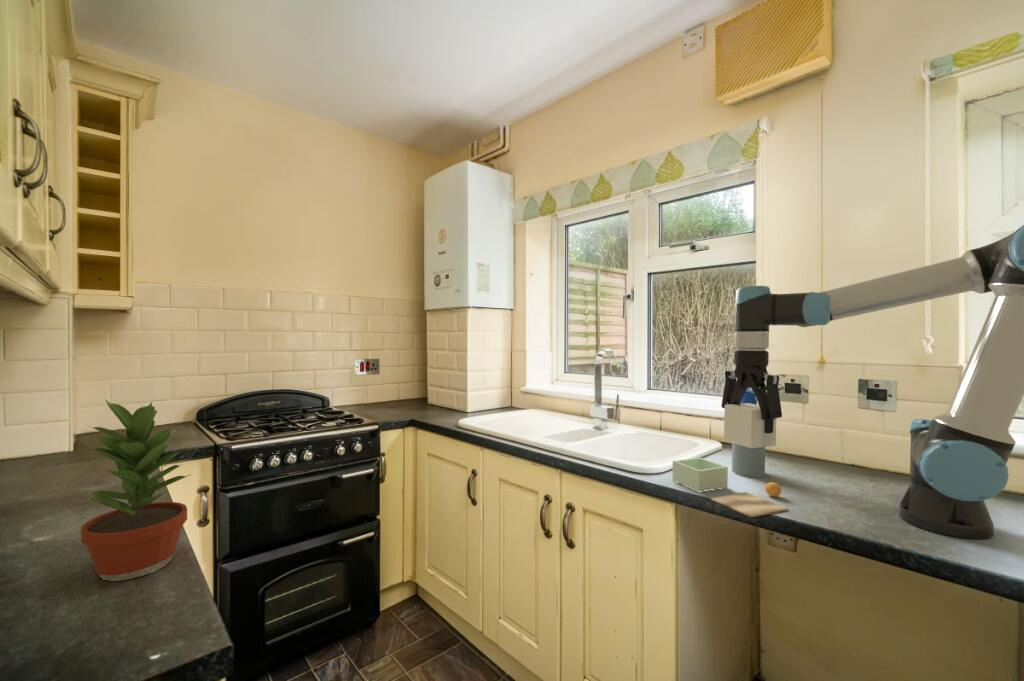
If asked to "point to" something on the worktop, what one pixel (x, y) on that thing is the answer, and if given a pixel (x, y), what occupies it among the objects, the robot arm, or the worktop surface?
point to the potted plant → (134, 499)
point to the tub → (700, 474)
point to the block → (744, 425)
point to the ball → (773, 489)
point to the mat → (749, 504)
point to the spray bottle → (748, 451)
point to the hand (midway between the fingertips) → (749, 441)
